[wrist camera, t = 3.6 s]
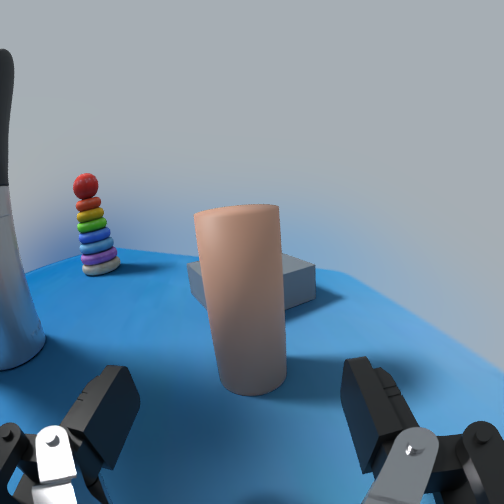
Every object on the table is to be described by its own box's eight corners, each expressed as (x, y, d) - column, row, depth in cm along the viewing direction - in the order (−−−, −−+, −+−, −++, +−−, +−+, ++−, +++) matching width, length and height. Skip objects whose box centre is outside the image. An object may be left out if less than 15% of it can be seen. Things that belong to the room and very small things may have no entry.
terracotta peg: (238, 405, 17) (211, 221, 13) (210, 367, 21) (183, 213, 18) (300, 377, 19) (296, 207, 16) (264, 347, 23) (252, 202, 20)
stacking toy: (113, 261, 54) (99, 172, 49) (127, 267, 49) (111, 167, 44) (80, 271, 49) (64, 179, 44) (89, 280, 44) (70, 173, 39)
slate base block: (226, 330, 26) (220, 292, 25) (191, 293, 36) (186, 263, 34) (315, 298, 31) (315, 264, 30) (264, 273, 40) (262, 246, 39)
